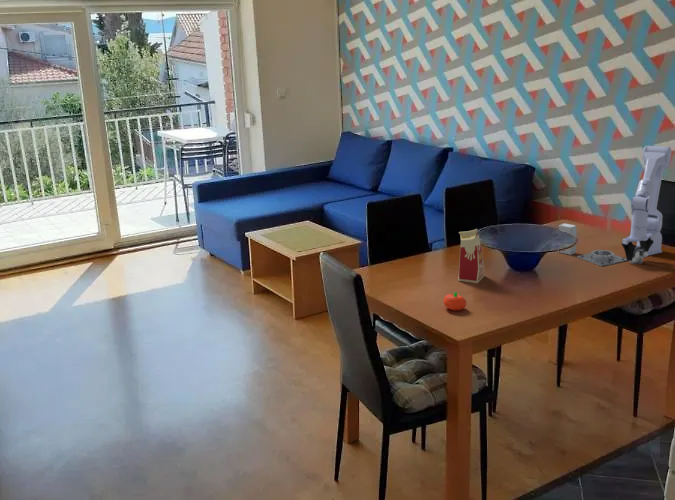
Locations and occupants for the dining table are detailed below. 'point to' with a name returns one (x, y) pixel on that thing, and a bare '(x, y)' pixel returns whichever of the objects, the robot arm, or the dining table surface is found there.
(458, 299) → the pumpkin
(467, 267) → the milk carton
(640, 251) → the cylinder with square knob
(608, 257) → the duct flange
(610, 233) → the dining table surface
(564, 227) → the skincare box
